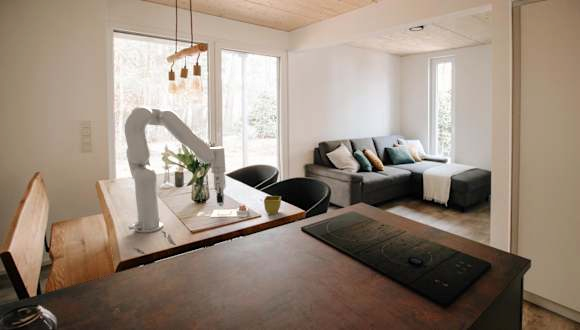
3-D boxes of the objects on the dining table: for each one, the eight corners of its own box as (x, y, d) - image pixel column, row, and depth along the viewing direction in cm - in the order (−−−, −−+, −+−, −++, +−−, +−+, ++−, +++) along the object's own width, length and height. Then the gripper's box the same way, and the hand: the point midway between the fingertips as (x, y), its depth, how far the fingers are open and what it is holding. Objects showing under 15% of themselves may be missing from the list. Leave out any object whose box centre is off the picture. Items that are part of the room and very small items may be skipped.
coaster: (196, 217, 173) (196, 216, 173) (199, 212, 180) (199, 212, 180) (209, 216, 173) (209, 215, 173) (211, 212, 180) (211, 211, 180)
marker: (220, 207, 174) (219, 187, 172) (216, 206, 176) (215, 187, 174) (225, 205, 177) (224, 186, 175) (221, 204, 179) (220, 185, 177)
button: (239, 211, 176) (238, 206, 175) (239, 209, 179) (239, 204, 179) (245, 211, 176) (245, 206, 175) (245, 209, 179) (245, 204, 179)
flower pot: (281, 211, 183) (281, 196, 181) (279, 216, 174) (279, 200, 173) (266, 210, 184) (266, 195, 182) (264, 215, 175) (263, 200, 173)
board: (210, 218, 171) (209, 213, 171) (214, 211, 183) (214, 206, 182) (247, 217, 172) (246, 212, 172) (248, 210, 184) (248, 205, 183)
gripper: (223, 172, 165) (225, 205, 168) (227, 166, 181) (229, 197, 184) (208, 172, 164) (211, 206, 168) (214, 166, 181) (216, 197, 184)
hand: (220, 201), depth 176 cm, fingers closed on marker, 3 cm apart
